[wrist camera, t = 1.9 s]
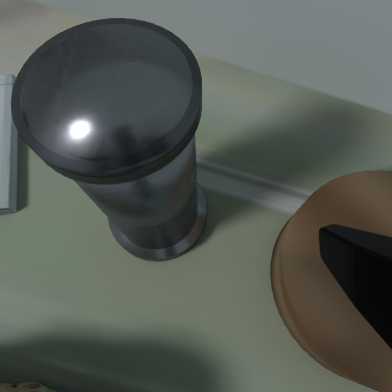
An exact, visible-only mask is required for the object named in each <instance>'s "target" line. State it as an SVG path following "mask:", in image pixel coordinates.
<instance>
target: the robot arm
mask: <svg viewBox="0 0 392 392" xmlns="http://www.w3.org/2000/svg"><path fill="white" fill-rule="evenodd" d="M319 249H320V256H321V259H322V261H323V262H324V264H325V265H326V267H327V268H328V269H329V271H330V272H331V274H332V275H333V277H334V278H335V279H336V281H337V282H338V284H339V285H340V287H341V288H342V290H343V291H344V292H345V294H346V295H347V297H348V298H349V300H350V301H351V302H352V304H353V305H354V306H355V308H356V309H357V310H358V311H359V312H360V314H361V315H362V316H363V317H364V318H365V319H366V321H367V322H368V323H369V324H370V325H371V326H372V328H373V329H374V330H375V331H376V332H377V333H378V335H379V336H380V337H381V338H382V339H383V340H384V341H385V343H386V344H387V345H388V346H389V347H390V348H391V350H392V237H389V236H385V235H381V234H376V233H372V232H368V231H364V230H359V229H355V228H351V227H346V226H342V225H338V224H330V225H327V226H324V227H321V228H320V229H319Z"/></svg>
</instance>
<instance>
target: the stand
mask: <svg viewBox="0 0 392 392" xmlns="http://www.w3.org/2000/svg"><path fill="white" fill-rule="evenodd" d="M330 224H338V225H342V226H346V227H351V228H355V229H359V230H364V231H368V232H372V233H376V234H381V235H385V236H389V237H392V172H388V171H363V172H355V173H351V174H348V175H344V176H341V177H339V178H336V179H334V180H332V181H330V182H328V183H327V184H325V185H323V186H322V187H320V188H319V189H318V190H317V191H315V192H314V193H313V194H312V195H311V196H310V197H309V198H308V199H307V200H306V201H305V203H304V204H303V205H302V206H301V207H300V208H299V209H298V210H297V212H296V213H295V214H294V215H293V216H292V217H291V218H290V220H289V221H288V222H287V223H286V224H285V226H284V227H283V229H282V230H281V232H280V234H279V236H278V238H277V240H276V243H275V246H274V249H273V253H272V259H271V274H270V275H271V286H272V291H273V295H274V300H275V303H276V306H277V308H278V311H279V314H280V316H281V318H282V320H283V322H284V324H285V325H286V327H287V329H288V330H289V332H290V333H291V335H292V336H293V338H294V339H295V340H296V341H297V342H298V344H299V345H300V346H301V347H302V348H303V349H304V350H305V351H306V352H307V353H308V354H309V355H310V356H311V357H312V358H313V359H314V360H316V361H317V362H318V363H320V364H321V365H322V366H324V367H325V368H327V369H328V370H330V371H332V372H334V373H335V374H337V375H339V376H342V377H344V378H346V379H349V380H351V381H354V382H356V383H359V384H361V385H364V386H366V387H369V388H371V389H374V390H376V391H379V392H392V350H391V348H390V347H389V346H388V345H387V344H386V343H385V341H384V340H383V339H382V338H381V337H380V336H379V335H378V333H377V332H376V331H375V330H374V329H373V328H372V326H371V325H370V324H369V323H368V322H367V321H366V319H365V318H364V317H363V316H362V315H361V314H360V312H359V311H358V310H357V309H356V308H355V306H354V305H353V304H352V302H351V301H350V300H349V298H348V297H347V295H346V294H345V292H344V291H343V290H342V288H341V287H340V285H339V284H338V282H337V281H336V279H335V278H334V277H333V275H332V274H331V272H330V271H329V269H328V268H327V267H326V265H325V264H324V262H323V261H322V259H321V256H320V249H319V229H320V228H321V227H324V226H327V225H330Z"/></svg>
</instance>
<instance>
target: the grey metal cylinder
mask: <svg viewBox="0 0 392 392" xmlns="http://www.w3.org/2000/svg"><path fill="white" fill-rule="evenodd" d="M201 111H202V78H201V72H200V68H199V65H198V63H197V60H196V58H195V57H194V55H193V53H192V51H191V50H190V49H189V48H188V46H187V45H186V44H185V43H184V42H183V41H182V40H181V39H180V38H179V37H177V36H176V35H174V34H173V33H172V32H170V31H168V30H166V29H164V28H162V27H160V26H158V25H155V24H153V23H149V22H145V21H141V20H135V19H125V18H109V19H101V20H95V21H90V22H86V23H83V24H80V25H77V26H74V27H72V28H69V29H67V30H65V31H63V32H61V33H59V34H57V35H56V36H54V37H52V38H51V39H49V40H48V41H46V42H45V43H44V44H43V45H42V46H40V47H39V48H38V49H37V50H36V51H35V52H34V53H33V54H32V55H31V56H30V57H29V59H28V60H27V61H26V62H25V64H24V65H23V67H22V68H21V70H20V72H19V73H18V76H17V78H16V80H15V83H14V86H13V90H12V95H11V113H12V118H13V122H14V124H15V127H16V129H17V131H18V133H19V135H20V136H21V137H22V139H23V140H24V142H25V143H26V144H27V145H28V146H29V147H30V148H31V149H32V150H33V151H34V152H35V153H36V154H37V155H38V156H39V157H40V158H41V159H42V160H43V161H44V162H45V163H46V164H47V165H48V166H49V167H51V168H52V169H53V170H55V171H56V172H58V173H60V174H62V175H63V176H65V177H68V178H70V179H73V180H74V181H75V182H76V183H77V184H78V185H79V186H80V188H81V189H82V190H83V191H84V192H85V193H86V194H87V195H88V196H89V197H90V198H91V200H92V201H93V202H94V203H95V204H96V205H97V206H98V207H99V208H100V209H101V210H102V212H103V213H104V214H105V215H106V216H107V217H108V221H109V226H110V229H111V232H112V234H113V236H114V237H115V239H116V240H117V242H118V243H119V244H120V245H121V246H122V247H123V248H124V249H125V250H127V251H128V252H129V253H130V254H132V255H134V256H135V257H138V258H140V259H143V260H147V261H167V260H171V259H174V258H176V257H179V256H181V255H182V254H184V253H186V252H187V251H188V250H190V249H191V248H192V247H193V246H194V245H195V244H196V242H197V241H198V240H199V238H200V236H201V235H202V233H203V230H204V228H205V224H206V217H207V204H206V199H205V195H204V193H203V191H202V189H201V187H200V185H199V184H198V183H197V171H196V148H195V132H196V130H197V128H198V125H199V121H200V118H201Z"/></svg>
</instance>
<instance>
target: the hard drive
mask: <svg viewBox="0 0 392 392" xmlns="http://www.w3.org/2000/svg"><path fill="white" fill-rule="evenodd" d="M15 80H16V77H15V76H14V75H13V74H3V75H0V215H5V214H10V213H16V211H17V156H18V131H17V129H16V127H15V124H14V122H13V118H12V113H11V95H12V90H13V86H14V83H15Z"/></svg>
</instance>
